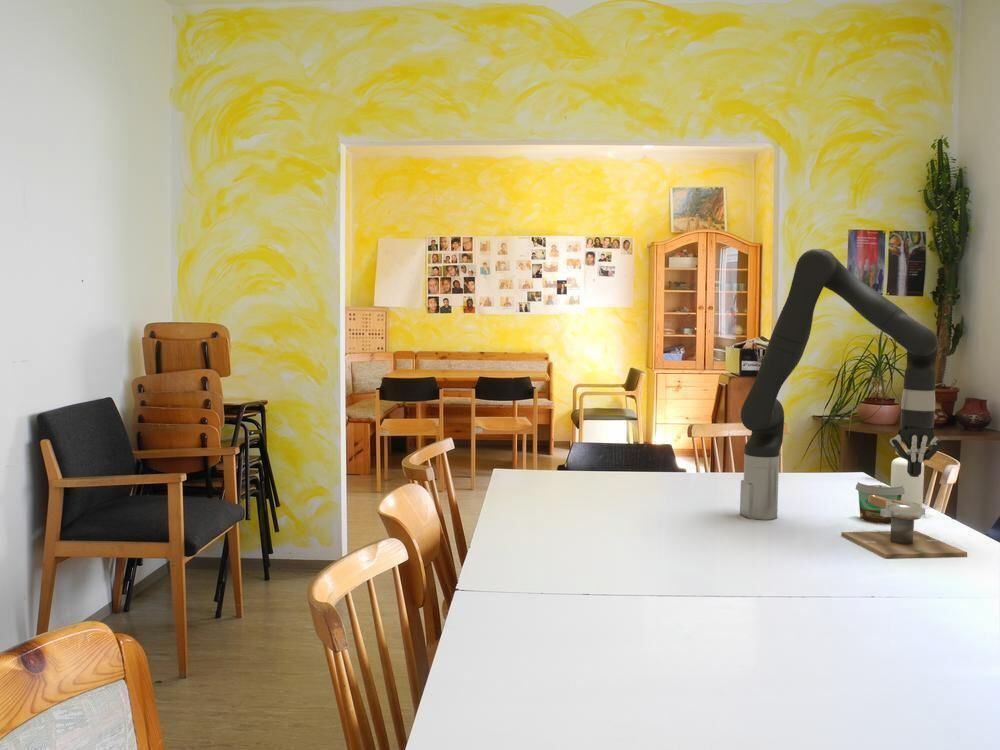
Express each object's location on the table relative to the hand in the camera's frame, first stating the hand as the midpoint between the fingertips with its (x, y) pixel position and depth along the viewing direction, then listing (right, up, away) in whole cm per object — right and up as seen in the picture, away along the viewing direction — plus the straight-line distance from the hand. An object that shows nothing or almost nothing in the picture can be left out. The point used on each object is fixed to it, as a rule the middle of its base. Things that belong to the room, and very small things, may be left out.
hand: (913, 476), depth 211 cm
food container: (-1, -15, +18) cm, 23 cm away
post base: (-6, -16, -7) cm, 19 cm away
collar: (-7, -8, -3) cm, 12 cm away
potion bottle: (+11, -14, +27) cm, 33 cm away
